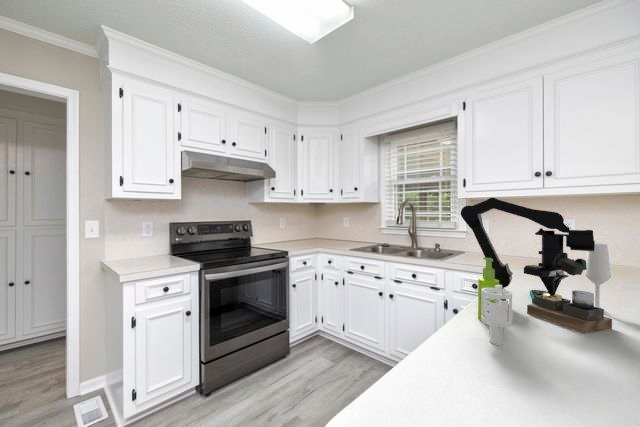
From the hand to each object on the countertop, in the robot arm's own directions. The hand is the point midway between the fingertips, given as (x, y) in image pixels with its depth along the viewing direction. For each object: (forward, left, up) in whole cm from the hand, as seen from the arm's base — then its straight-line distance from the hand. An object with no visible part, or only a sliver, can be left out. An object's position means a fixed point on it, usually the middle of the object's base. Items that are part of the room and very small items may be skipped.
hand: (552, 295), depth 98 cm
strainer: (-36, -10, -7) cm, 38 cm away
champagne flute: (+19, -1, -7) cm, 21 cm away
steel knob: (0, -9, -1) cm, 9 cm away
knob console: (0, -4, -7) cm, 8 cm away
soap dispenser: (-24, +4, -7) cm, 25 cm away
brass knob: (0, 0, -4) cm, 4 cm away
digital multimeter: (+14, +14, -8) cm, 21 cm away
